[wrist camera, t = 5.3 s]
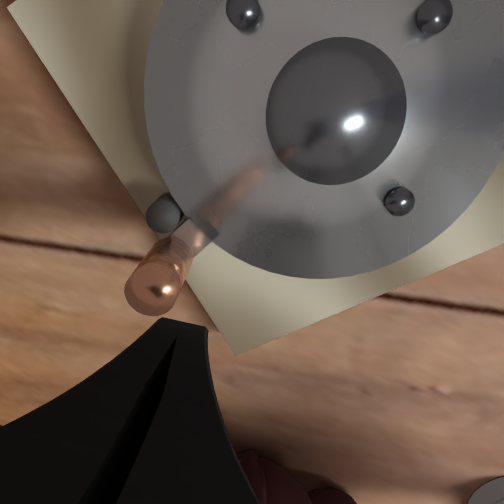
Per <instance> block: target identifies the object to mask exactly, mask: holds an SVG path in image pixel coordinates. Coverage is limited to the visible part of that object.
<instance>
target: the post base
mask: <svg viewBox="0 0 504 504" xmlns="http://www.w3.org/2000/svg"><path fill="white" fill-rule="evenodd" d="M162 3H163V0H16V1H15V2H13V3H12V4H11V5H9V6H8V7H7V9H8V10H9V12H10V13H11V15H12V16H13V18H14V19H15V21H16V22H17V24H18V26H19V27H20V29H21V30H22V32H23V33H24V35H25V36H26V38H27V39H28V41H29V42H30V44H31V45H32V47H33V48H34V50H35V51H36V53H37V54H38V56H39V57H40V59H41V61H42V62H43V64H44V65H45V67H46V68H47V70H48V71H49V73H50V74H51V76H52V77H53V79H54V80H55V82H56V83H57V85H58V86H59V88H60V89H61V91H62V92H63V94H64V96H65V97H66V99H67V100H68V102H69V103H70V105H71V106H72V108H73V109H74V111H75V112H76V114H77V115H78V117H79V118H80V120H81V121H82V123H83V124H84V126H85V127H86V129H87V131H88V132H89V134H90V135H91V137H92V138H93V140H94V141H95V143H96V144H97V146H98V147H99V149H100V150H101V152H102V153H103V155H104V156H105V158H106V159H107V161H108V162H109V164H110V166H111V167H112V169H113V170H114V172H115V173H116V175H117V176H118V178H119V179H120V181H121V182H122V184H123V185H124V187H125V188H126V190H127V191H128V193H129V194H130V196H131V197H132V199H133V201H134V202H135V204H136V205H137V207H138V208H139V210H140V211H141V213H142V214H143V216H144V217H145V219H146V221H147V224H148V225H149V227H150V228H151V229H152V230H153V231H154V232H155V234H156V236H157V237H158V239H159V240H160V239H162V238H166V237H167V236H168V235H169V234H170V233H171V232H172V231H173V230H174V229H175V228H176V227H177V226H178V225H179V224H180V223H181V222H183V221H184V220H185V219H186V218H187V216H186V215H185V214H184V212H183V211H182V209H181V208H180V207H179V205H178V204H177V202H176V201H175V200H174V198H173V197H172V195H171V193H170V191H169V189H168V187H167V185H166V184H165V182H164V180H163V178H162V176H161V173H160V171H159V168H158V166H157V163H156V160H155V158H154V155H153V151H152V147H151V144H150V140H149V136H148V132H147V124H146V117H145V109H144V76H145V67H146V58H147V52H148V48H149V44H150V39H151V35H152V31H153V27H154V24H155V22H156V19H157V16H158V14H159V11H160V8H161V6H162ZM503 243H504V151H503V153H502V155H501V157H500V159H499V162H498V164H497V166H496V168H495V170H494V171H493V173H492V174H491V176H490V178H489V179H488V181H487V182H486V184H485V186H484V187H483V189H482V190H481V192H480V193H479V194H478V196H477V197H476V198H475V199H474V201H473V202H472V203H471V204H470V206H469V207H468V208H467V209H466V210H465V211H464V213H463V214H462V215H461V216H460V217H459V218H458V219H457V220H456V221H455V222H454V223H453V224H452V225H451V226H450V227H449V228H447V229H446V230H445V231H444V232H442V233H441V234H440V235H439V236H437V237H436V238H435V239H434V240H433V241H431V242H430V243H428V244H427V245H425V246H424V247H422V248H420V249H419V250H417V251H416V252H414V253H413V254H411V255H409V256H407V257H405V258H403V259H401V260H399V261H397V262H395V263H393V264H390V265H387V266H385V267H382V268H379V269H377V270H374V271H371V272H367V273H362V274H358V275H354V276H349V277H341V278H333V279H306V278H297V277H289V276H284V275H280V274H276V273H271V272H268V271H265V270H263V269H260V268H257V267H254V266H252V265H249V264H248V263H246V262H244V261H242V260H240V259H238V258H236V257H234V256H232V255H230V254H229V253H227V252H226V251H225V250H223V249H222V248H220V247H219V246H217V245H216V244H214V243H213V242H211V243H210V244H209V245H207V246H206V247H205V248H204V249H203V250H202V251H201V252H200V253H199V254H197V255H196V256H195V257H194V258H193V262H192V265H191V268H190V270H189V272H188V274H187V277H186V279H185V280H186V281H187V283H188V284H189V286H190V287H191V289H192V290H193V292H194V293H195V295H196V296H197V298H198V299H199V301H200V302H201V304H202V305H203V307H204V309H205V310H206V312H207V313H208V315H209V316H210V318H211V319H212V321H213V322H214V324H215V325H216V327H217V328H218V330H219V331H220V333H221V334H222V336H223V337H224V339H225V340H226V342H227V344H228V345H229V347H230V348H231V350H232V351H233V353H234V354H235V356H236V355H238V354H241V353H243V352H245V351H248V350H250V349H253V348H255V347H257V346H260V345H262V344H265V343H267V342H269V341H272V340H274V339H277V338H279V337H281V336H284V335H286V334H288V333H291V332H293V331H296V330H298V329H300V328H303V327H305V326H308V325H310V324H312V323H315V322H317V321H320V320H322V319H324V318H327V317H329V316H331V315H334V314H336V313H339V312H341V311H343V310H346V309H348V308H351V307H353V306H355V305H358V304H360V303H363V302H365V301H367V300H370V299H372V298H374V297H377V296H379V295H382V294H384V293H386V292H389V291H391V290H394V289H396V288H398V287H401V286H403V285H405V284H408V283H410V282H413V281H415V280H417V279H420V278H422V277H425V276H427V275H429V274H432V273H434V272H437V271H439V270H441V269H444V268H446V267H448V266H451V265H453V264H456V263H458V262H460V261H463V260H465V259H468V258H470V257H472V256H475V255H477V254H480V253H482V252H484V251H487V250H489V249H491V248H494V247H496V246H499V245H501V244H503Z"/></svg>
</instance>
